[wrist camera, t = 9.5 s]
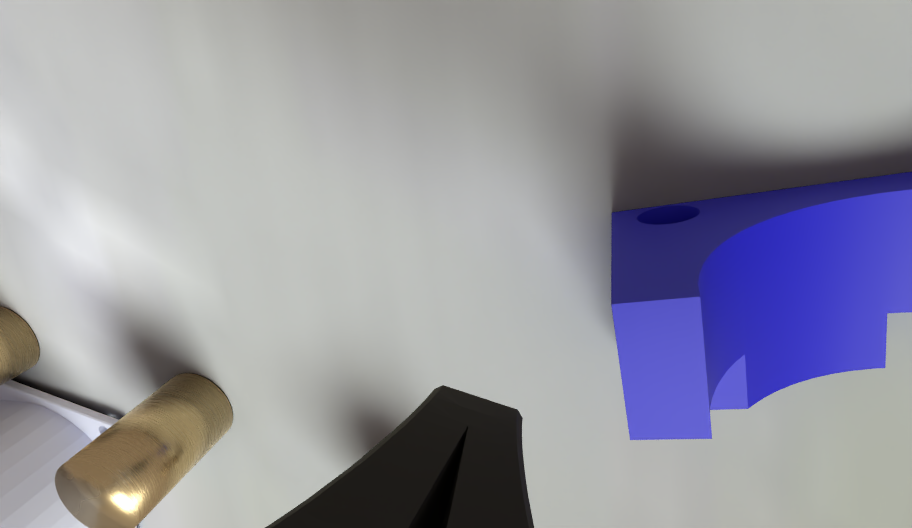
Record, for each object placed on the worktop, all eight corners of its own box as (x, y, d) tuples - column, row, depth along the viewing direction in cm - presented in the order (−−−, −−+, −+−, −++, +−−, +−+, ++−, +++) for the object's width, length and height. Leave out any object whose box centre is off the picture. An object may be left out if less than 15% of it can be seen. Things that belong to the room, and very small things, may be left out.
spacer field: (-15, 356, 24) (-156, 429, 20) (-149, -359, 15) (-478, -530, 10) (443, 524, 21) (398, 654, 17) (649, -242, 12) (672, -413, 7)
